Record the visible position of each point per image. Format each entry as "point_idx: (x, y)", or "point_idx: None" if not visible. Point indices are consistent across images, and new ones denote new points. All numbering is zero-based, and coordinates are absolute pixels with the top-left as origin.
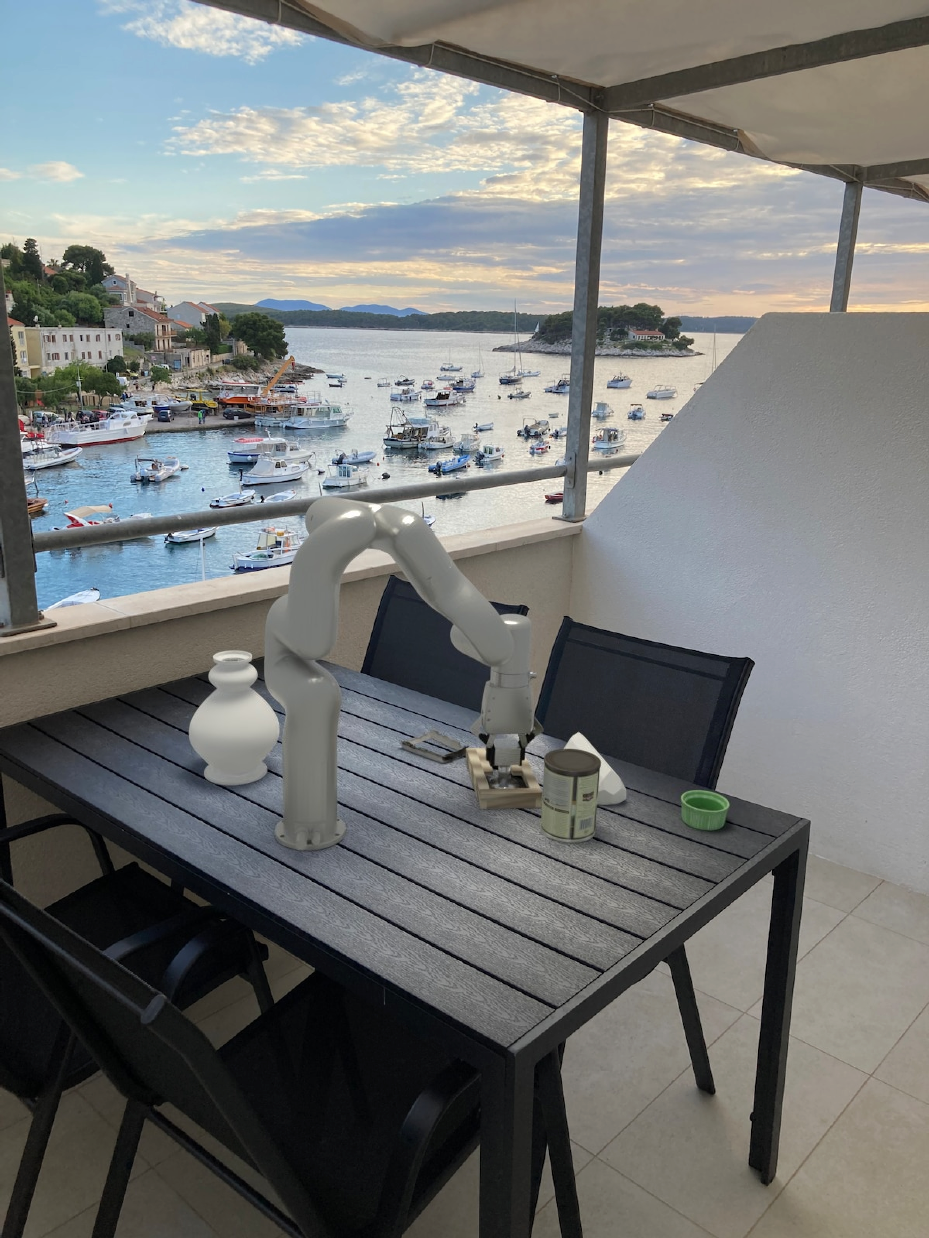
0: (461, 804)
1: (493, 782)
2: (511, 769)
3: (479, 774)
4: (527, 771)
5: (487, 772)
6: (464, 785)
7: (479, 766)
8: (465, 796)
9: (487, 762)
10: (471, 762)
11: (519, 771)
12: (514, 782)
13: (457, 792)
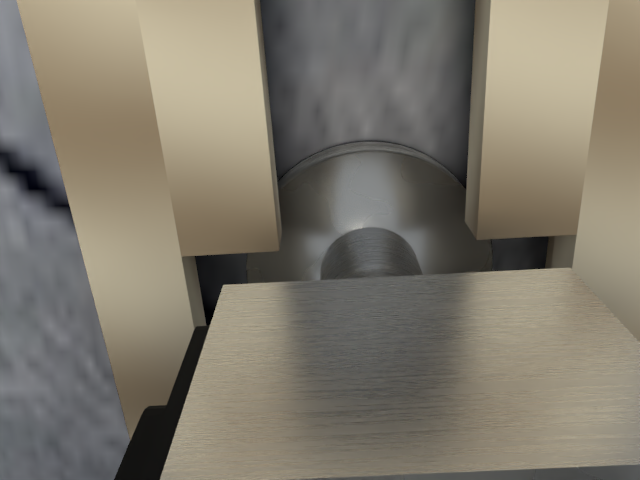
0: (75, 444)
1: (284, 262)
2: (476, 163)
3: (142, 313)
4: (621, 249)
5: (221, 251)
6: (61, 191)
7: (133, 137)
8: (89, 353)
9: (224, 19)
10: (30, 23)
11: (542, 233)
12: (460, 258)
13: (25, 300)
